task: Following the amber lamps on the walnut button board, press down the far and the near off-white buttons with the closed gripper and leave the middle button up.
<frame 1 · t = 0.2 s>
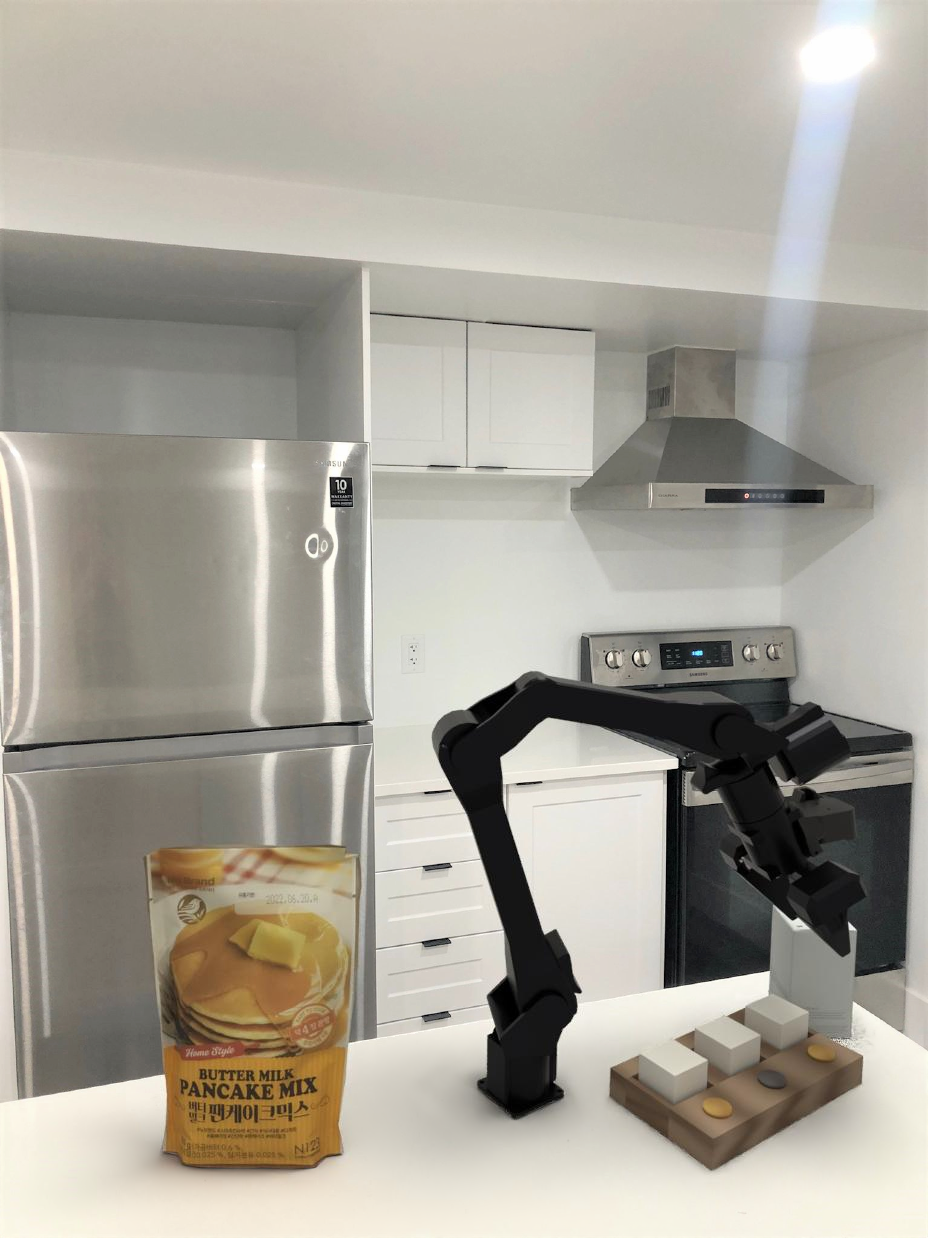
hand: (819, 935, 97), 15 cm above the countertop, tool tilted 30°, fingers open, 9 cm apart
pancake mix bag: (254, 1148, 86), on the countertop
button board: (737, 1090, 95), on the countertop
supplement box: (808, 1023, 108), on the countertop
middle button: (727, 1046, 96), point 4 cm above the countertop, slide at 0.0 cm
far button: (776, 1023, 100), point 4 cm above the countertop, slide at 0.0 cm
near button: (672, 1072, 91), point 4 cm above the countertop, slide at 0.0 cm
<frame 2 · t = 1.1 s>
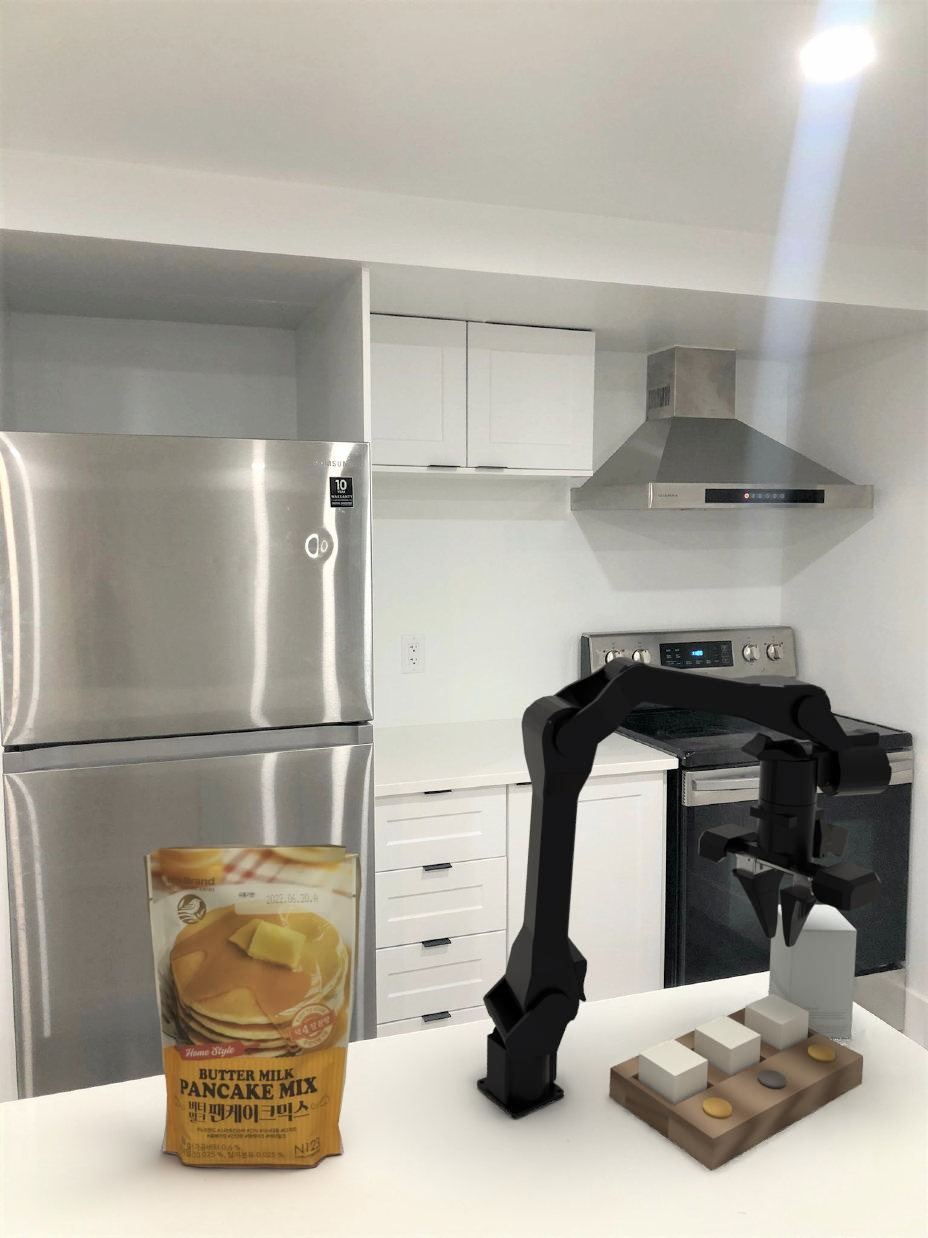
hand: (780, 941, 99), 13 cm above the countertop, tool pointing down, fingers closed
nothing on the countertop moved.
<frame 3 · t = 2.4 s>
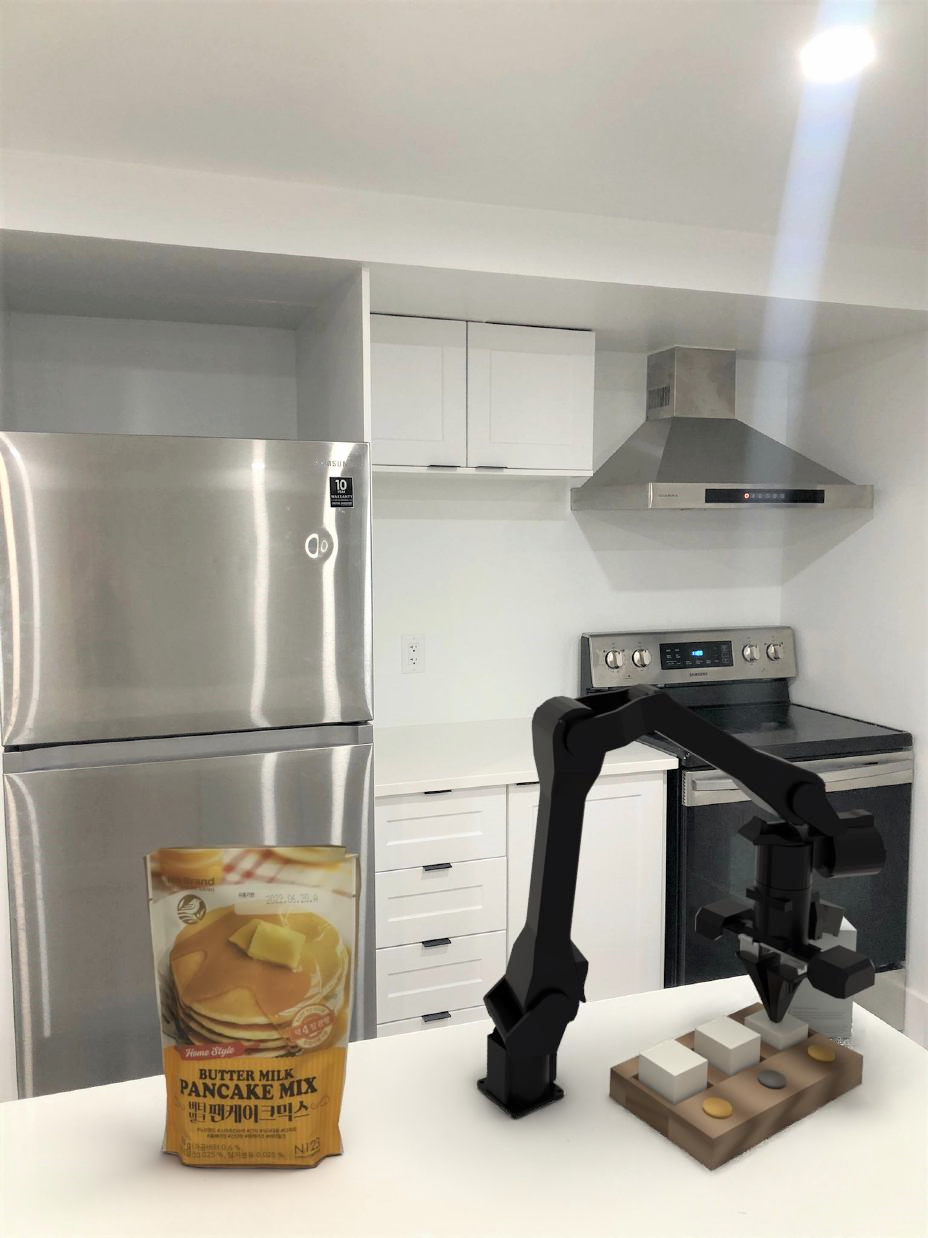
hand: (776, 1021, 100), 4 cm above the countertop, tool pointing down, fingers closed, pressing on far button
far button: (775, 1035, 100), point 3 cm above the countertop, slide at 1.4 cm, touching gripper
everything else where it was.
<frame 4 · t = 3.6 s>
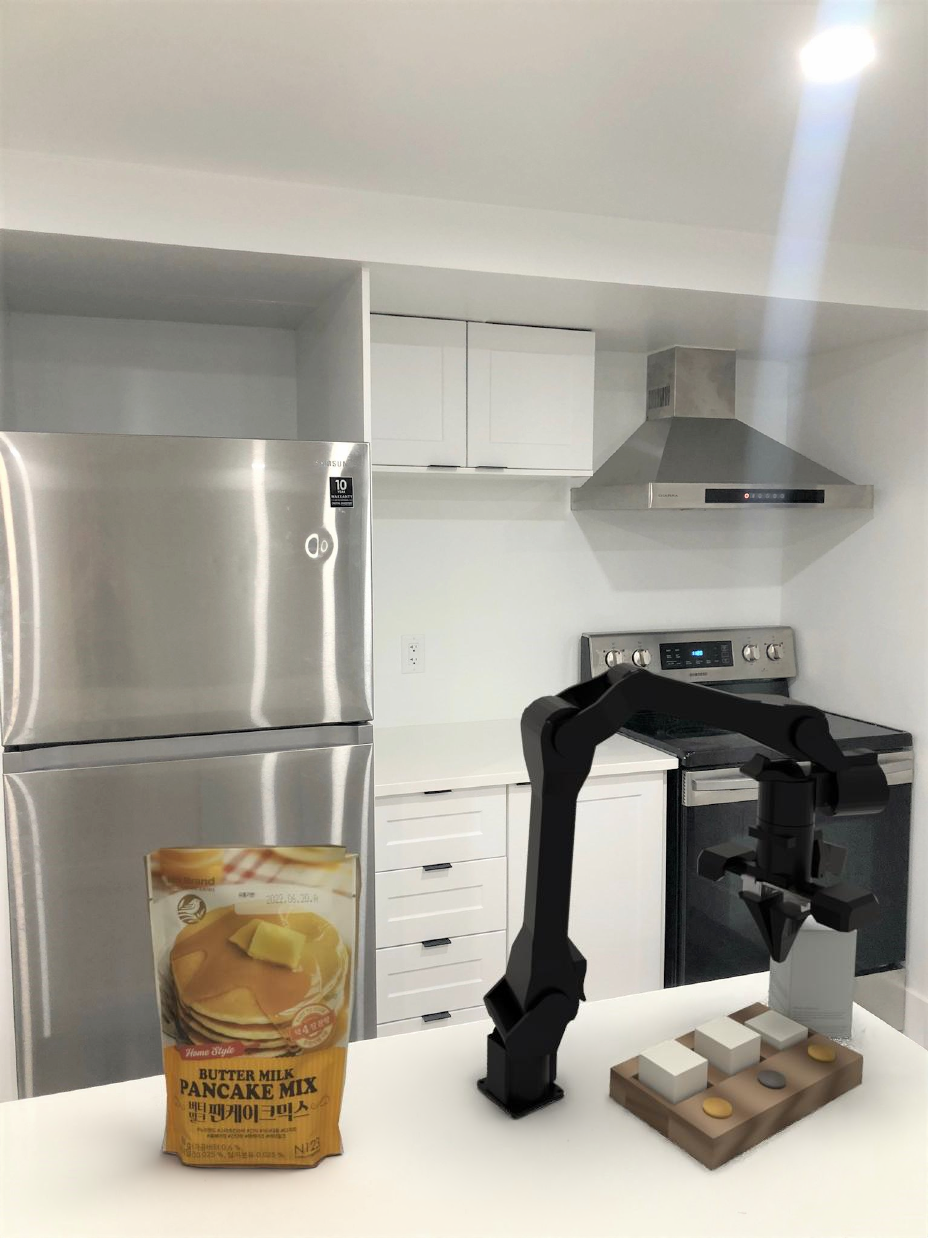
hand: (779, 961, 100), 11 cm above the countertop, tool pointing down, fingers closed
far button: (775, 1039, 101), point 2 cm above the countertop, slide at 1.8 cm
everything else where it was.
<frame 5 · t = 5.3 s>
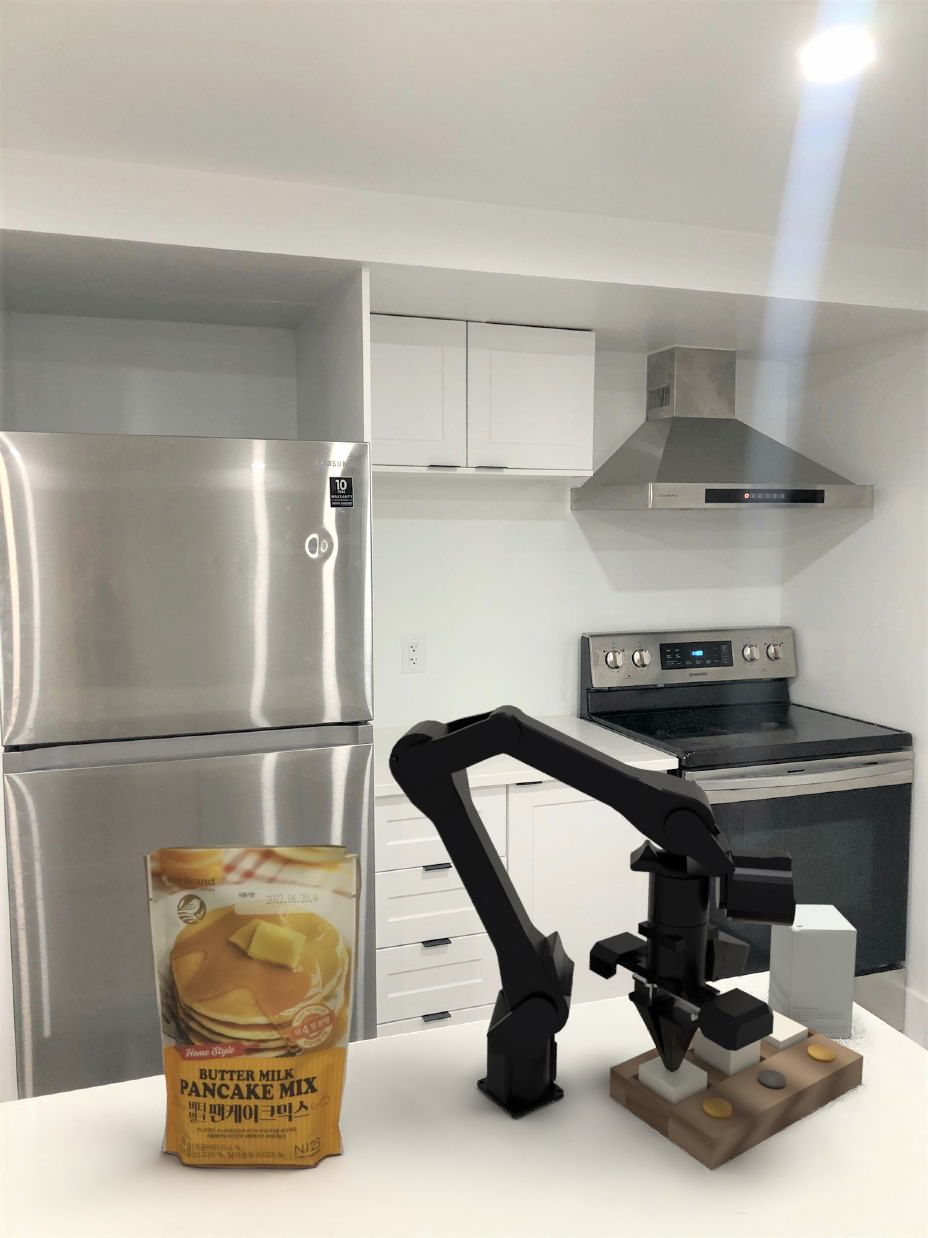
hand: (672, 1069, 91), 4 cm above the countertop, tool pointing down, fingers closed, pressing on near button
near button: (672, 1085, 91), point 3 cm above the countertop, slide at 1.3 cm, touching gripper
everything else where it was.
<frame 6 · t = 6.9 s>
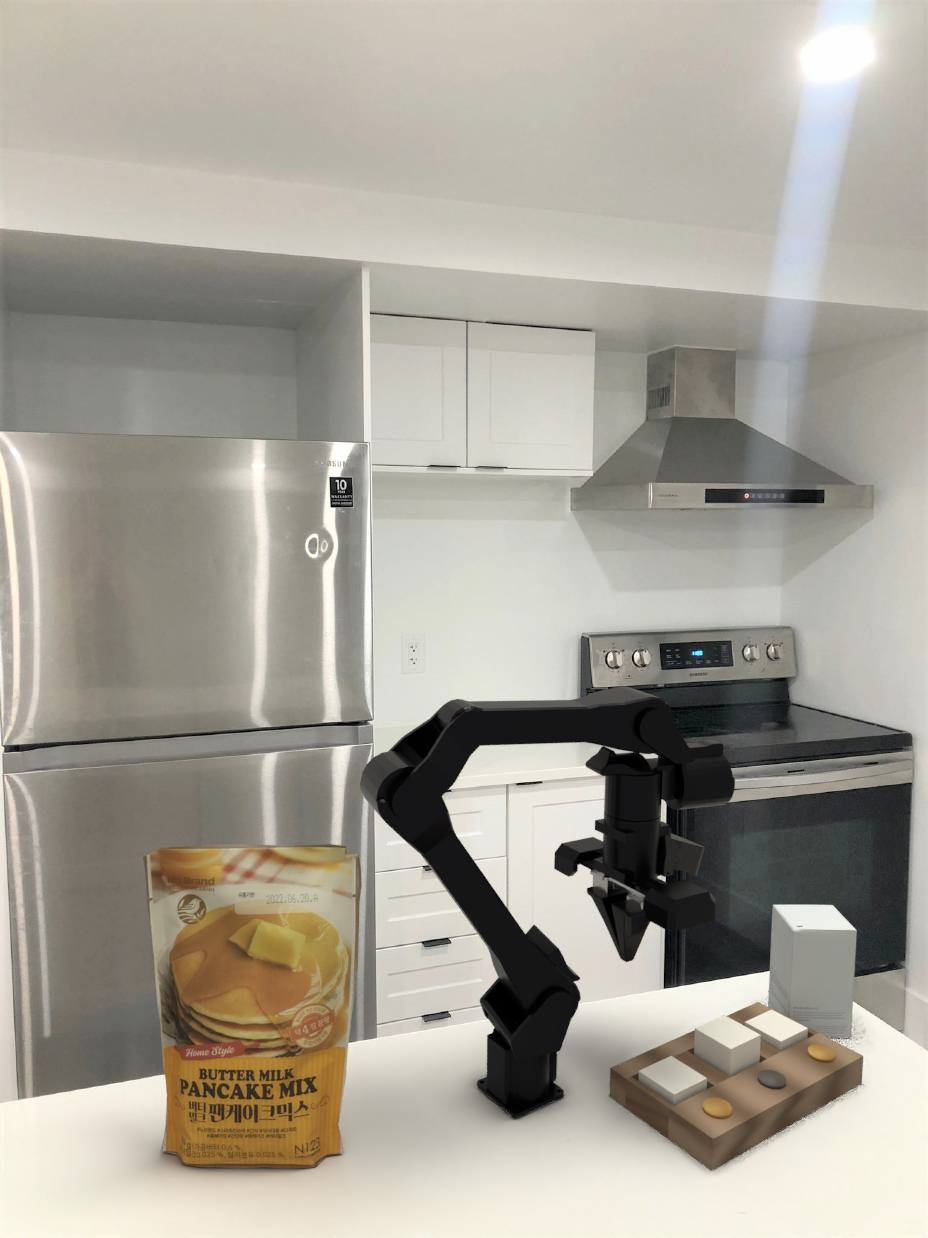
hand: (627, 960, 97), 12 cm above the countertop, tool pointing down, fingers closed
near button: (672, 1090, 91), point 2 cm above the countertop, slide at 1.8 cm
everything else where it was.
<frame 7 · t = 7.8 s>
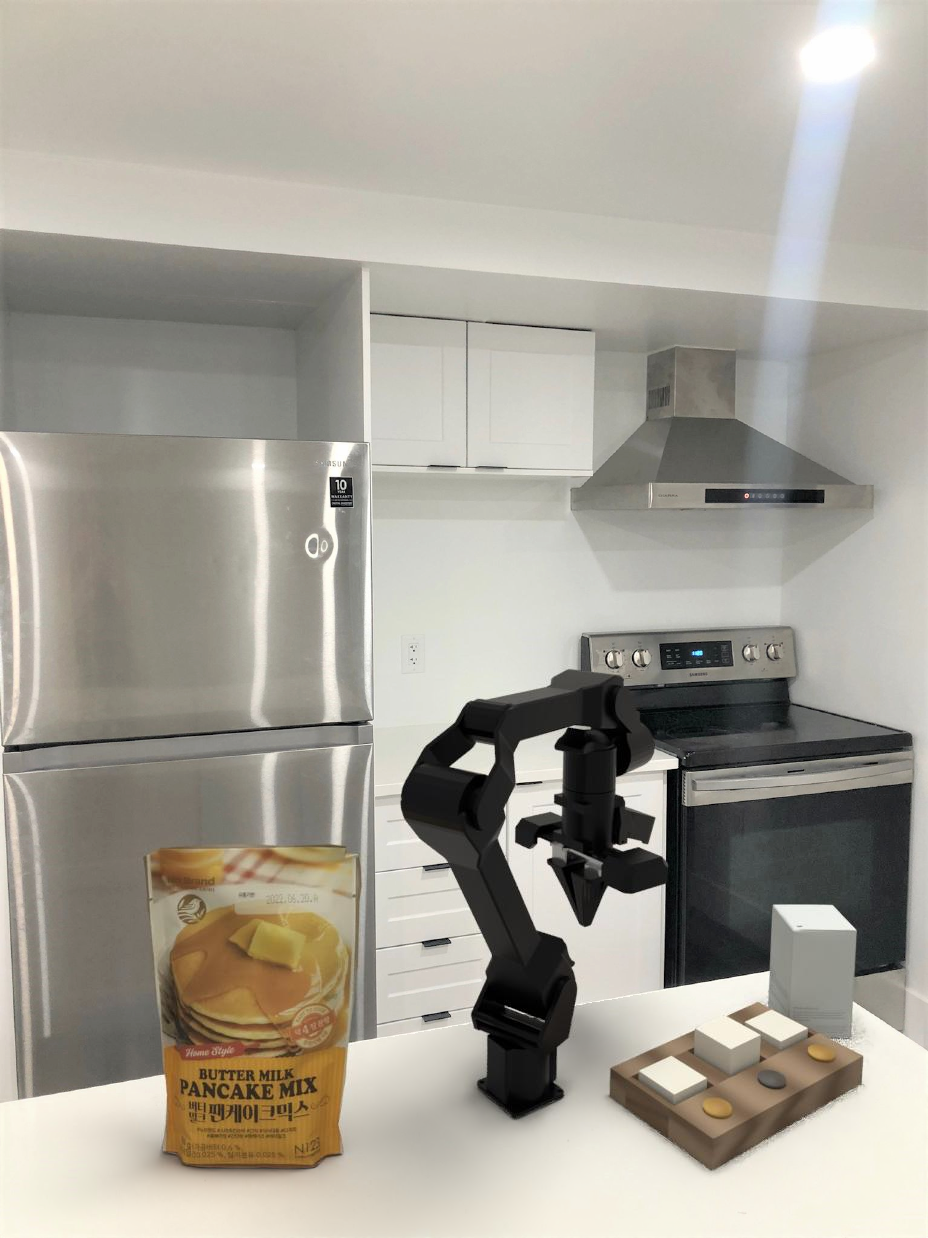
hand: (585, 925, 103), 13 cm above the countertop, tool pointing down, fingers closed
nothing on the countertop moved.
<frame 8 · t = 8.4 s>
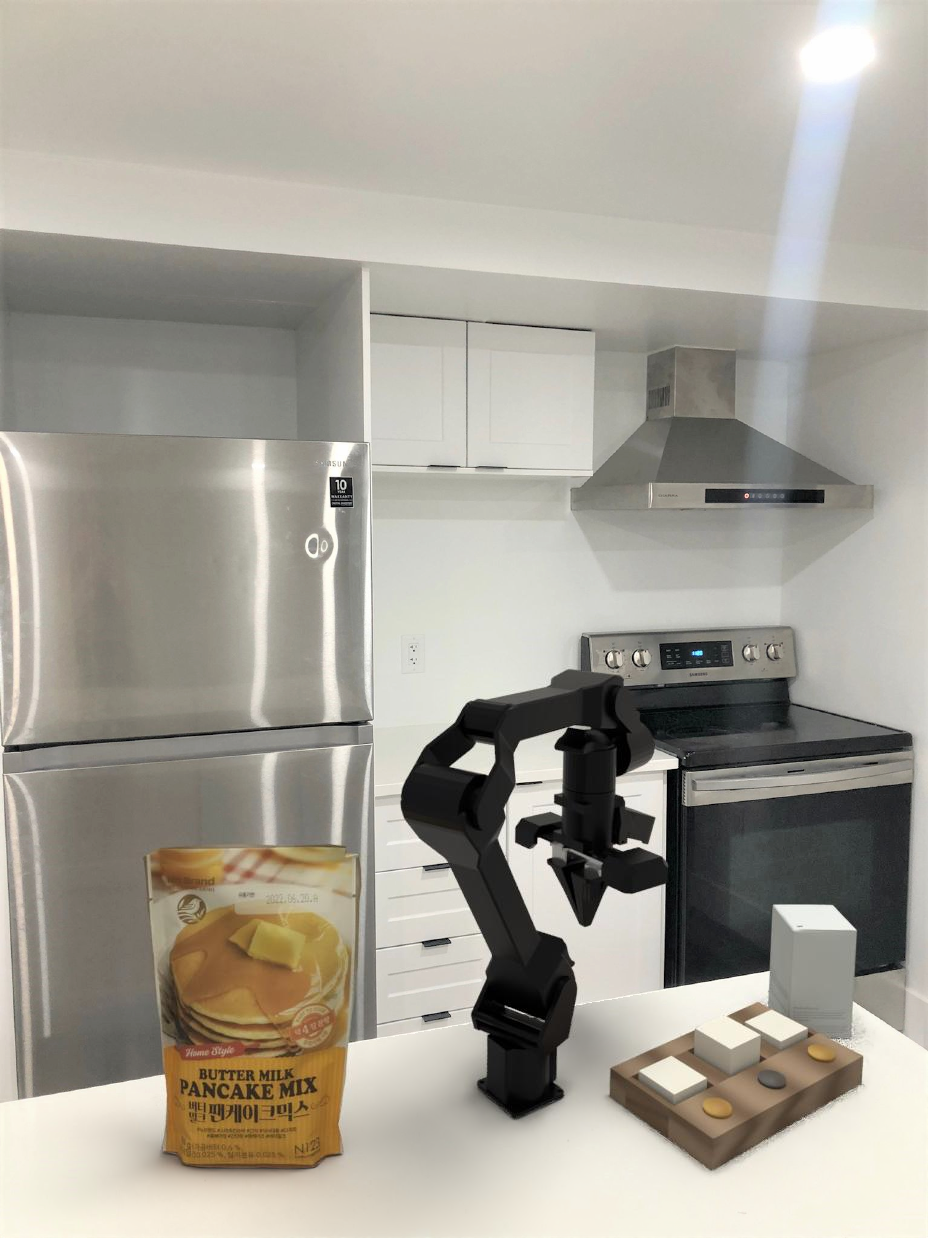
hand: (585, 925, 103), 13 cm above the countertop, tool pointing down, fingers closed
nothing on the countertop moved.
at the end: far button slide at 1.8 cm; near button slide at 1.8 cm; middle button slide at 0.0 cm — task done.
